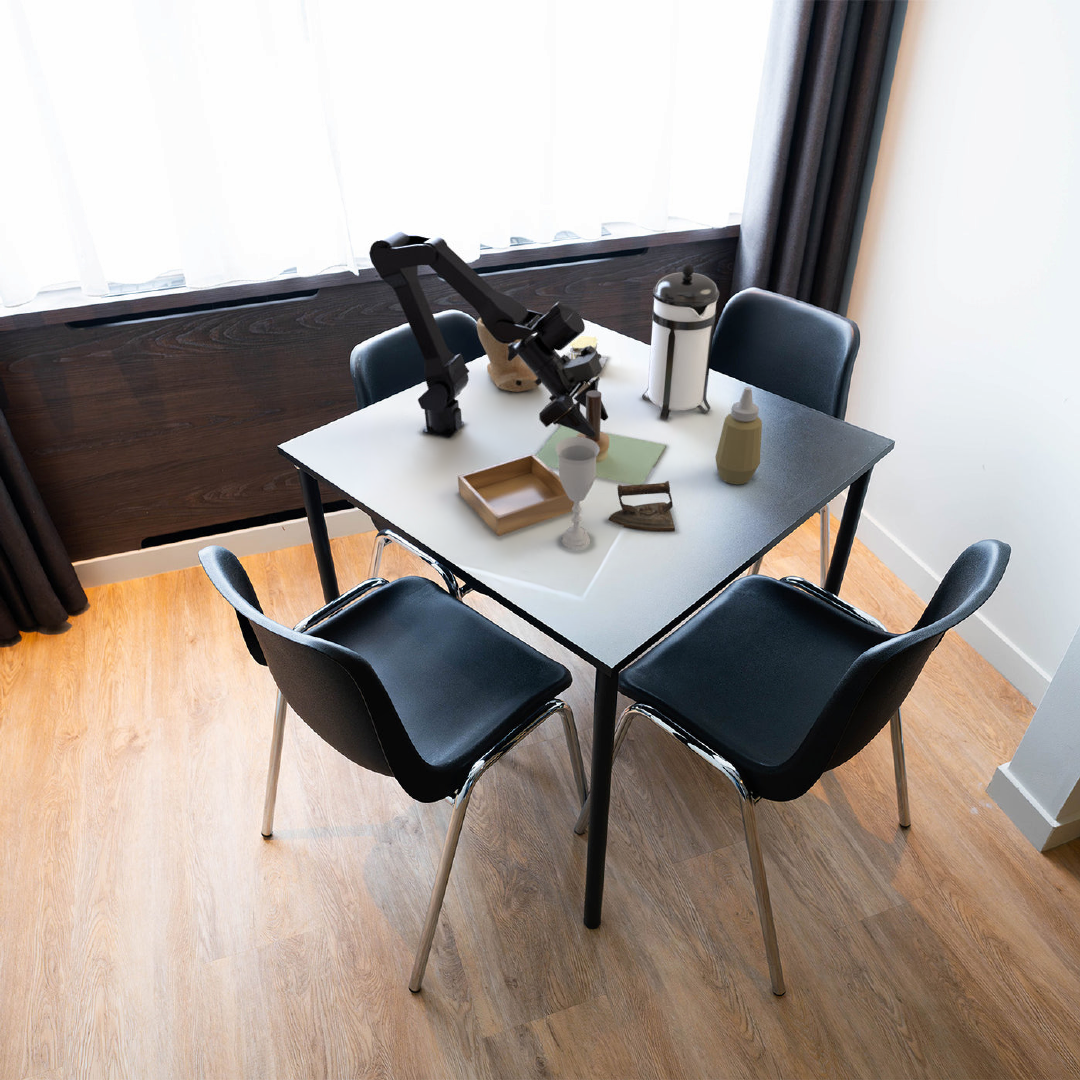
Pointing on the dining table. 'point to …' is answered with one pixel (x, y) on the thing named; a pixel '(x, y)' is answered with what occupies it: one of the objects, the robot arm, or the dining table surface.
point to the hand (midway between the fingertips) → (600, 427)
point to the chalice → (577, 482)
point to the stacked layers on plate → (580, 344)
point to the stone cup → (505, 364)
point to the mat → (612, 456)
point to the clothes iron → (645, 509)
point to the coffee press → (681, 341)
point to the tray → (515, 494)
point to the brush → (596, 423)
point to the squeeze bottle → (740, 442)
